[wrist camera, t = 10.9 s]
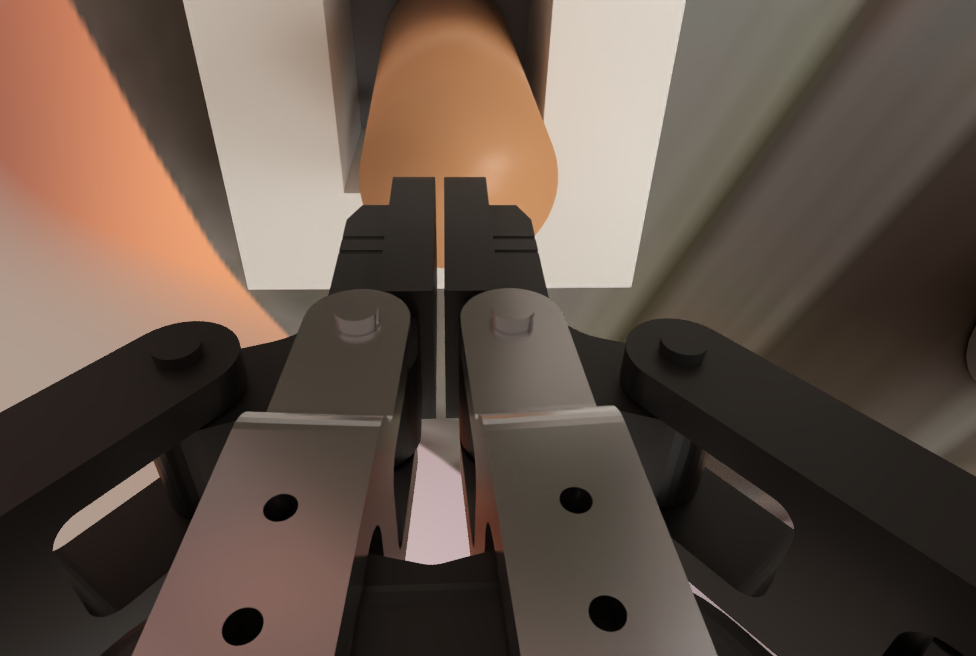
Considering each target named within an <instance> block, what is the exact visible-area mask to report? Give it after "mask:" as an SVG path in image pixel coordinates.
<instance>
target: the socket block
mask: <svg viewBox="0 0 976 656" xmlns="http://www.w3.org/2000/svg"><path fill="white" fill-rule="evenodd" d="M492 1H493V2H494V4H495V5H496V6H497V8H498V9H499V11H500V13H501V15H502V17H503V19H504V21H505V24H506V27H507V29H508V32H509V34H510V37H511V39H512V42H513V45H514V47H515V50H516V52H517V55H518V57H519V60H520V63H521V65H522V68H523V70H524V73H525V75H526V78H527V81H528V83H529V86H530V88H531V91H532V94H533V96H534V99H535V101H536V104H537V106H538V109H539V112H540V114H541V117H542V119H543V122H544V124H545V127H546V130H547V132H548V135H549V137H550V140H551V142H552V145H553V148H554V152H555V155H556V159H557V166H558V186H557V193H556V197H555V201H554V204H553V207H552V209H551V212H550V214H549V216H548V218H547V220H546V221H545V223H544V224H543V226H542V228H541V229H540V230H539V231H538V233H537V234H536V235H535V239H536V243H537V248H538V253H539V257H540V261H541V266H542V270H543V275H544V279H545V284H546V288H626V287H631V286H632V281H633V275H634V270H635V265H636V260H637V254H638V249H639V244H640V239H641V233H642V228H643V223H644V218H645V213H646V207H647V202H648V197H649V192H650V186H651V181H652V176H653V171H654V165H655V160H656V155H657V150H658V144H659V139H660V134H661V129H662V123H663V118H664V113H665V108H666V102H667V97H668V92H669V87H670V81H671V76H672V71H673V66H674V60H675V55H676V50H677V45H678V39H679V34H680V29H681V24H682V18H683V13H684V8H685V3H686V0H492ZM397 2H398V0H183V3H184V8H185V12H186V17H187V21H188V25H189V30H190V34H191V39H192V43H193V48H194V52H195V56H196V61H197V65H198V70H199V74H200V78H201V83H202V87H203V92H204V96H205V101H206V105H207V109H208V114H209V118H210V123H211V127H212V131H213V136H214V140H215V145H216V149H217V154H218V158H219V162H220V167H221V171H222V176H223V180H224V184H225V189H226V193H227V198H228V202H229V207H230V211H231V215H232V220H233V224H234V229H235V233H236V237H237V242H238V246H239V251H240V255H241V260H242V264H243V268H244V273H245V277H246V282H247V286H248V290H268V289H330V287H331V282H332V278H333V274H334V270H335V266H336V262H337V258H338V254H339V249H340V245H341V241H342V240H343V233H344V229H345V224H346V220H347V219H348V218H349V217H350V216H351V215H352V214H353V213H354V212H355V211H357V210H358V209H359V208H360V207H361V206H362V205H363V202H362V199H361V194H360V189H359V168H360V160H361V155H362V149H363V144H364V139H365V133H366V128H367V122H368V117H369V112H370V106H371V101H372V95H373V90H374V85H375V79H376V74H377V68H378V63H379V57H380V52H381V47H382V41H383V36H384V31H385V26H386V23H387V20H388V17H389V15H390V13H391V11H392V9H393V7H394V6H395V5H396V3H397ZM437 289H444V268H437Z"/></svg>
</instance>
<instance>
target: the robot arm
mask: <svg viewBox="0 0 976 656" xmlns="http://www.w3.org/2000/svg"><path fill="white" fill-rule="evenodd" d="M444 296H445V375H446V418H459V427H460V469H461V477H462V486H463V495H464V504H465V512H466V521H467V529H468V538H469V546H470V556H469V557H465V558H461V559H458V560H454V561H450V562H446V563H442V564H437V565H426V564H419V563H415V562H410V561H405V556H406V549H407V541H408V533H409V526H410V518H411V509H412V502H413V494H414V486H415V479H416V471H417V463H418V461H417V460H418V455H417V447H418V445H419V442H420V438H421V420H422V419H436V358H437V229H436V182H435V177H393V180H392V187H391V194H390V201H389V205H362V206H361V207H360V208H359V209H358V210H357V211H355V212H354V213H353V214H352V215H351V216H350V217H349V218H348V219H347V220H346V224H345V229H344V233H343V240H342V241H341V245H340V249H339V254H338V258H337V262H336V266H335V270H334V274H333V278H332V282H331V287H330V291H329V295H328V296H327V297H325V298H323V299H321V300H319V301H318V302H316V303H315V304H314V305H313V306H311V307H310V309H309V310H308V311H307V312H306V314H305V316H304V318H303V321H302V323H301V326H300V328H299V331H298V333H297V334H295V335H293V336H290V337H287V338H285V339H282V340H278V341H274V342H270V343H265V344H260V345H256V346H252V347H247V348H242V349H241V347H240V343H239V340H238V338H237V336H236V335H235V334H234V333H233V331H231V330H230V329H228V328H227V327H224V326H222V325H219V324H216V323H211V322H204V321H201V322H200V321H192V322H182V323H177V324H172V325H168V326H164V327H161V328H159V329H156V330H153V331H151V332H149V333H147V334H145V335H143V336H142V337H139V338H138V339H136V340H134V341H132V342H130V343H128V344H127V345H125V346H123V347H121V348H119V349H117V350H115V351H114V352H112V353H110V354H108V355H106V356H104V357H103V358H101V359H99V360H97V361H95V362H93V363H92V364H89V365H88V366H86V367H84V368H82V369H80V370H78V371H77V372H75V373H73V374H71V375H69V376H67V377H65V378H64V379H62V380H60V381H58V382H56V383H54V384H52V385H51V386H49V387H47V388H45V389H43V390H41V391H39V392H38V393H36V394H34V395H32V396H31V397H28V398H27V399H25V400H23V401H21V402H19V403H17V404H16V405H14V406H12V407H10V408H8V409H6V410H4V411H2V412H1V413H0V656H773V655H772V654H770V653H769V652H768V651H767V650H766V649H765V648H764V647H763V646H761V645H760V644H759V643H758V642H757V641H756V640H754V639H753V638H752V637H751V636H750V635H749V634H748V633H747V632H746V631H744V630H743V629H742V628H741V627H740V626H739V625H738V624H736V623H735V622H734V621H732V619H730V618H729V617H728V616H727V615H726V614H724V613H723V612H722V611H720V610H719V609H717V608H716V607H714V606H713V605H712V604H710V603H709V602H707V601H706V600H704V599H703V598H701V597H699V596H698V595H696V594H694V593H693V592H692V590H691V587H690V585H689V582H690V583H691V584H692V585H694V586H695V587H696V588H697V589H698V590H700V591H701V592H702V593H703V594H704V595H706V596H707V597H708V598H709V599H710V600H711V601H713V602H714V603H715V604H716V605H717V606H719V607H720V608H721V609H722V610H723V611H725V612H726V613H727V614H728V615H729V616H731V617H732V618H733V619H734V620H735V621H737V622H738V623H739V624H740V625H741V626H742V627H744V628H745V629H746V630H747V631H748V632H749V633H751V634H752V635H753V636H754V637H755V638H757V639H758V640H759V641H760V642H761V643H763V644H764V645H765V646H766V647H767V648H769V649H770V650H771V651H772V652H773V653H775V654H776V655H777V656H976V477H975V476H974V475H972V474H970V473H968V472H966V471H965V470H963V469H961V468H959V467H957V466H956V465H954V464H952V463H950V462H948V461H947V460H945V459H943V458H941V457H939V456H938V455H936V454H934V453H932V452H931V451H929V450H927V449H925V448H923V447H922V446H920V445H918V444H916V443H914V442H913V441H911V440H909V439H907V438H905V437H904V436H902V435H900V434H898V433H896V432H895V431H893V430H891V429H889V428H888V427H886V426H884V425H882V424H880V423H879V422H877V421H875V420H873V419H871V418H870V417H868V416H866V415H864V414H862V413H861V412H859V411H857V410H855V409H853V408H852V407H850V406H848V405H846V404H844V403H843V402H841V401H839V400H837V399H836V398H834V397H832V396H830V395H828V394H827V393H825V392H823V391H821V390H819V389H818V388H816V387H814V386H812V385H810V384H809V383H807V382H805V381H803V380H801V379H800V378H798V377H796V376H794V375H793V374H791V373H789V372H787V371H785V370H784V369H782V368H780V367H778V366H776V365H775V364H773V363H771V362H769V361H767V360H766V359H764V358H762V357H760V356H758V355H757V354H755V353H753V352H751V351H750V350H748V349H746V348H744V347H742V346H741V345H739V344H737V343H735V342H733V341H732V340H730V339H728V338H726V337H724V336H723V335H721V334H719V333H717V332H715V331H714V330H712V329H710V328H708V327H706V326H703V325H700V324H698V323H694V322H690V321H686V320H680V319H656V320H651V321H647V322H644V323H642V324H640V325H638V326H637V327H635V328H634V329H633V330H632V331H631V332H630V333H629V335H628V337H627V340H626V343H621V342H616V341H612V340H607V339H602V338H597V337H593V336H590V335H587V334H584V333H581V332H579V331H577V330H575V329H573V328H571V327H570V326H568V325H567V322H566V320H565V317H564V314H563V312H562V310H561V309H560V308H559V306H558V305H557V304H556V303H554V302H553V301H552V300H551V299H549V297H548V293H547V288H546V284H545V279H544V275H543V270H542V266H541V261H540V257H539V253H538V248H537V243H536V239H535V234H534V230H533V225H532V221H531V219H530V218H529V217H528V216H527V215H526V214H525V213H524V212H523V211H522V210H521V209H520V208H519V207H518V206H517V205H489V200H488V191H487V183H486V177H444ZM966 359H967V367H968V370H969V372H970V374H971V376H972V377H973V379H974V380H975V381H976V326H975V328H974V331H973V333H972V335H971V337H970V339H969V343H968V348H967V353H966ZM709 454H710V455H712V456H713V457H715V458H716V459H718V460H719V461H721V462H722V463H724V464H725V465H726V466H728V467H729V468H731V469H732V470H734V471H735V472H737V473H738V474H739V475H741V476H742V477H744V478H745V479H747V480H748V481H750V482H751V483H753V484H754V485H755V486H757V487H758V488H760V489H761V490H763V491H764V492H766V493H767V494H768V495H770V496H771V497H773V498H774V499H775V500H777V501H778V502H779V503H780V504H781V505H782V506H783V507H784V509H785V510H786V511H787V513H788V514H789V516H790V518H791V520H792V522H793V525H794V529H792V528H791V527H789V526H788V525H786V524H785V523H784V522H782V521H781V520H779V519H778V518H776V517H775V516H774V515H772V514H771V513H769V512H768V511H767V510H765V509H764V508H762V507H761V506H759V505H758V504H757V503H755V502H754V501H752V500H751V499H750V498H748V497H747V496H745V495H744V494H743V493H741V492H740V491H738V490H737V489H735V488H734V487H733V486H731V485H730V484H728V483H727V482H726V481H724V480H723V479H721V478H720V477H718V476H717V475H716V474H714V473H713V472H711V471H710V470H709V469H707V468H706V467H705V465H706V462H707V459H708V456H709ZM152 461H154V463H155V466H156V468H157V471H158V473H159V476H160V478H158V479H157V480H156V481H154V482H153V483H151V484H150V485H149V486H147V487H146V488H144V489H143V490H142V491H140V492H139V493H137V494H136V495H135V496H133V497H132V498H130V499H129V500H127V501H126V502H125V503H124V504H122V505H120V506H119V507H118V508H116V509H115V510H113V511H112V512H111V513H109V514H108V515H106V516H105V517H103V518H102V519H101V520H99V521H98V522H96V523H95V524H94V525H92V526H91V527H89V528H88V529H86V530H85V531H84V532H82V533H81V534H80V535H78V536H77V537H75V538H74V539H73V540H71V541H70V542H68V543H67V544H66V545H64V546H62V547H61V548H59V549H57V550H55V551H53V544H54V540H55V538H56V536H57V534H58V532H59V531H60V529H61V528H62V526H63V525H64V524H65V523H66V522H67V521H68V520H69V519H70V518H71V517H72V516H73V515H75V514H76V513H77V512H79V511H80V510H82V509H83V508H85V507H86V506H88V505H89V504H91V503H92V502H93V501H95V500H96V499H98V498H99V497H101V496H102V495H104V494H105V493H107V492H108V491H109V490H111V489H112V488H114V487H115V486H117V485H118V484H120V483H121V482H123V481H124V480H126V479H127V478H128V477H130V476H131V475H133V474H134V473H136V472H137V471H139V470H140V469H141V468H143V467H145V466H146V465H147V464H149V463H150V462H152ZM688 581H689V582H688Z"/></svg>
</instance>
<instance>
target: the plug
mask: <svg viewBox="0 0 976 656" xmlns="http://www.w3.org/2000/svg"><path fill="white" fill-rule="evenodd" d="M393 177H435V182H436V229H437V268H444V177H486V183H487V191H488V200H489V205H517V206H518V207H519V208H520V209H521V210H522V211H523V212H524V213H525V214H526V215H527V216H528V217H529V218H530V219H531V221H532V225H533V230H534V234H535V235H536V234H537V233H538V231H539V230H540V229H541V228H542V226H543V224H544V223H545V221H546V220H547V218H548V216H549V214H550V212H551V209H552V207H553V204H554V201H555V197H556V193H557V186H558V166H557V159H556V155H555V152H554V148H553V145H552V142H551V140H550V137H549V135H548V132H547V130H546V127H545V124H544V122H543V119H542V117H541V114H540V112H539V109H538V106H537V104H536V101H535V99H534V96H533V94H532V91H531V88H530V86H529V83H528V81H527V78H526V75H525V73H524V70H523V68H522V65H521V63H520V60H519V57H518V55H517V52H516V50H515V47H514V45H513V42H512V39H511V37H510V34H509V32H508V29H507V27H506V24H505V21H504V19H503V17H502V15H501V13H500V11H499V9H498V8H497V6H496V5H495V4H494V2H493V1H492V0H398V2H397V3H396V5H395V6H394V7H393V9H392V11H391V13H390V15H389V17H388V20H387V23H386V26H385V31H384V36H383V41H382V47H381V52H380V57H379V63H378V68H377V74H376V79H375V85H374V90H373V95H372V101H371V106H370V112H369V117H368V122H367V128H366V133H365V139H364V144H363V149H362V155H361V160H360V168H359V189H360V194H361V199H362V202H363V205H389V201H390V194H391V187H392V180H393Z"/></svg>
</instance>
